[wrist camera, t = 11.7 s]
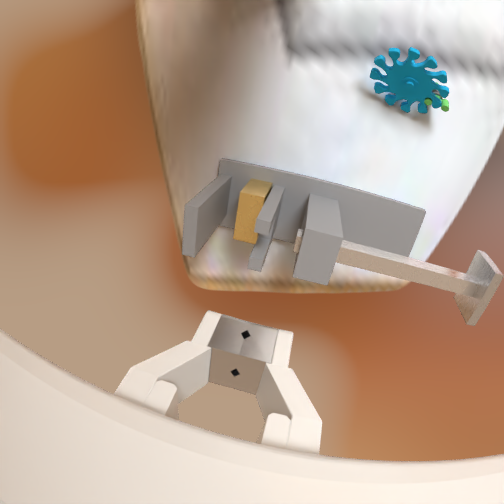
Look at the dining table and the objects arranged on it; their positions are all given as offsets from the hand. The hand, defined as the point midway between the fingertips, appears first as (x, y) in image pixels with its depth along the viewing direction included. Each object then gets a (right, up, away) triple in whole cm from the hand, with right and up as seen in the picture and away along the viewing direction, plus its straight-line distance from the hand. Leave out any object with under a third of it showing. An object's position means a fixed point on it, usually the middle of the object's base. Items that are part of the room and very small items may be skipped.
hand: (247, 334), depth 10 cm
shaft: (+19, +2, +26) cm, 32 cm away
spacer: (+1, +10, +33) cm, 34 cm away
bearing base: (+10, +8, +33) cm, 35 cm away
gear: (+20, +25, +22) cm, 39 cm away
